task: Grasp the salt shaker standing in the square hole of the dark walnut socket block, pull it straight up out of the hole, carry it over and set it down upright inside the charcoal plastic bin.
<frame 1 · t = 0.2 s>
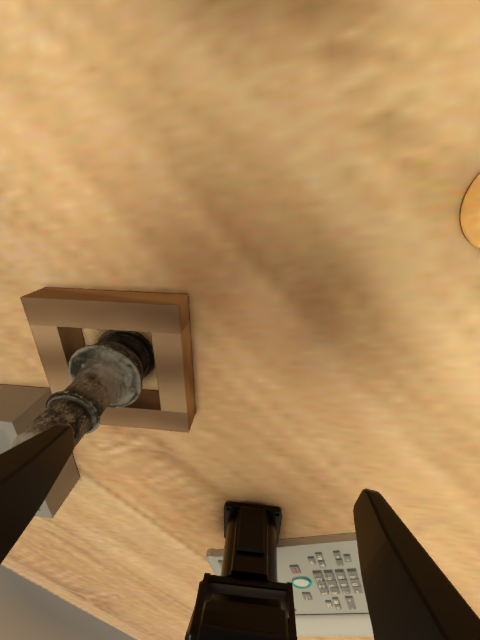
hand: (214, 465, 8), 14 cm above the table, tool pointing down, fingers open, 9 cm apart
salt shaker: (127, 353, 25), resting in socket block
socket block: (126, 354, 25), on the table
bin: (11, 431, 30), on the table
grey cutout plate: (298, 581, 38), on the table
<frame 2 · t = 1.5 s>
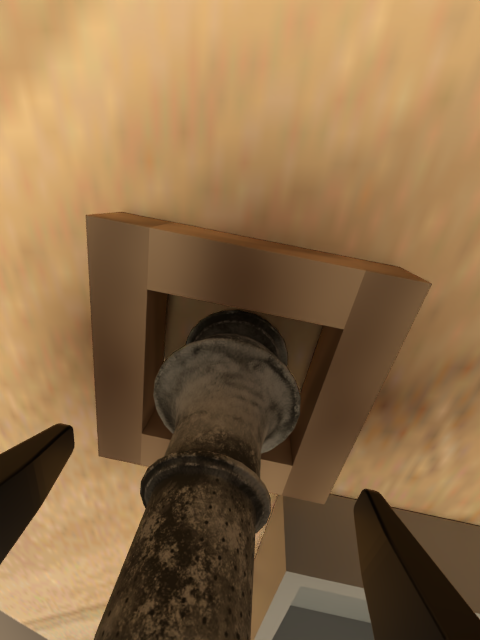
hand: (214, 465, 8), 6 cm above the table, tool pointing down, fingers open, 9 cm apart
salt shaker: (236, 355, 14), resting in socket block
socket block: (235, 358, 14), on the table
bin: (348, 560, 20), on the table
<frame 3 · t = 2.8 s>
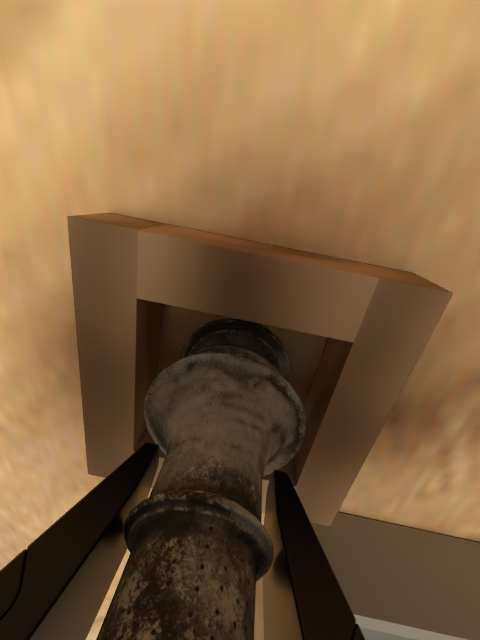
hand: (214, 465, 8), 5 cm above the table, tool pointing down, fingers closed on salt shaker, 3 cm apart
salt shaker: (235, 366, 13), resting in socket block, touching gripper
socket block: (234, 369, 13), on the table
bin: (353, 578, 19), on the table
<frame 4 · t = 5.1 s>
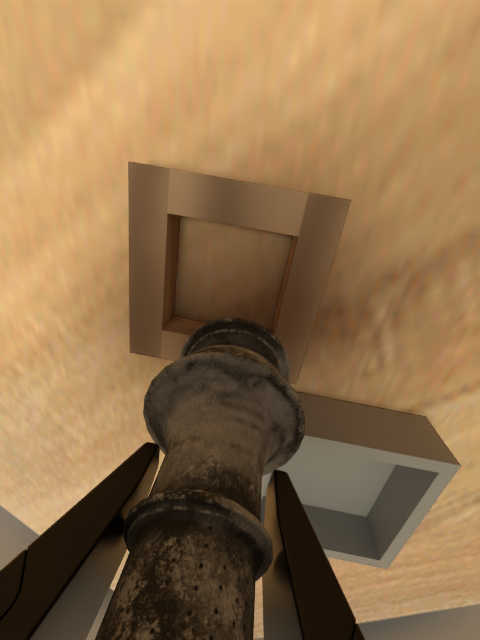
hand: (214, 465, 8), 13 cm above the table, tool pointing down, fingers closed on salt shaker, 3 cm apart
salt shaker: (234, 366, 13), point 7 cm above the table, touching gripper
socket block: (229, 277, 19), on the table
bin: (323, 456, 25), on the table
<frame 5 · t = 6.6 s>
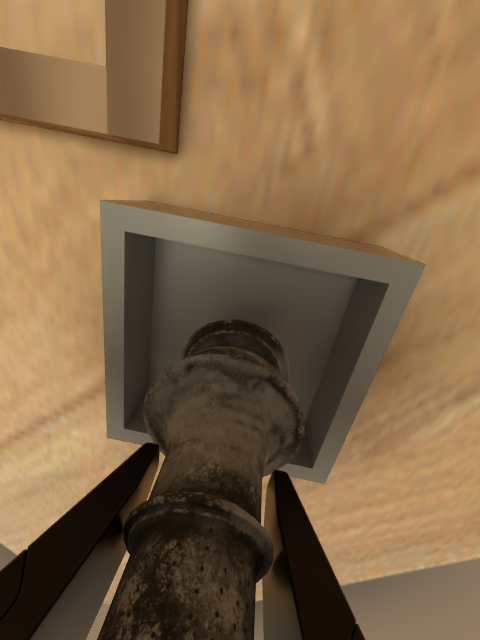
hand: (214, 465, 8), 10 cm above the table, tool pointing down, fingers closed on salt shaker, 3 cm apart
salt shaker: (234, 367, 13), point 5 cm above the table, touching gripper
bin: (241, 329, 17), on the table
when the fingers open (7 cm above the table, at t = 7.7 s): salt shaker stays where it is, resting on bin.
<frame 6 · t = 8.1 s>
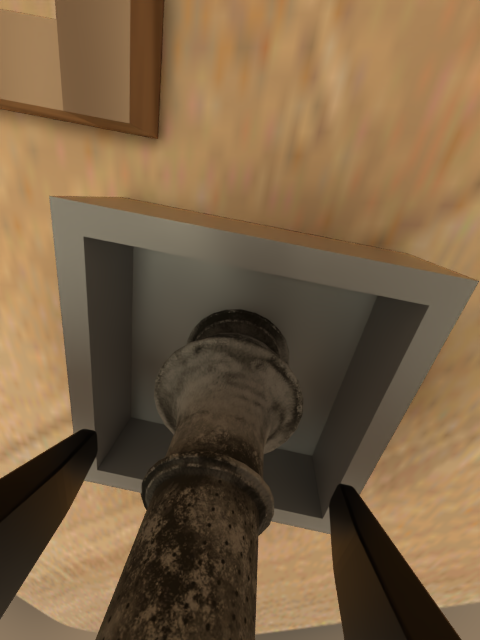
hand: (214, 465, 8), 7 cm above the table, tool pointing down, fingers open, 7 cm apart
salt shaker: (237, 355, 14), point 1 cm above the table, touching bin
bin: (238, 349, 15), on the table
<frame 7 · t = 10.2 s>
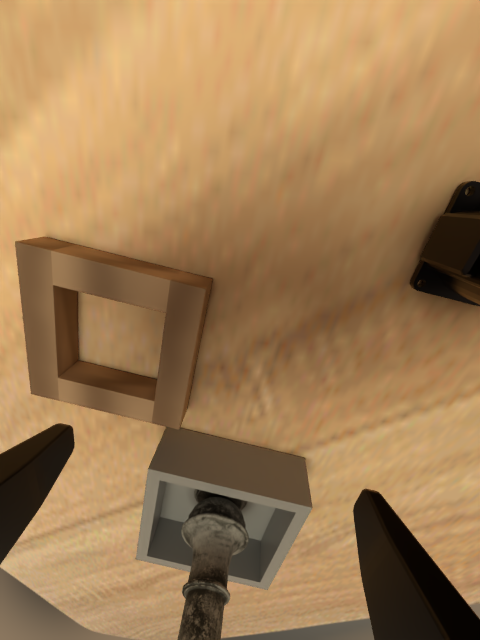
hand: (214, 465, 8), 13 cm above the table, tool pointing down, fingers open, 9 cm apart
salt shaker: (221, 493, 27), point 1 cm above the table, touching bin
socket block: (124, 332, 22), on the table
bin: (222, 486, 28), on the table
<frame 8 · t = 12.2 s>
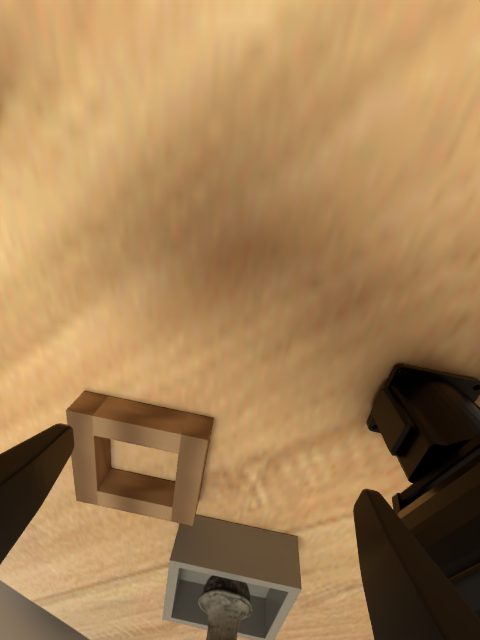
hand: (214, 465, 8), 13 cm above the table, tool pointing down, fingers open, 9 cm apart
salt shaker: (229, 563, 33), point 1 cm above the table, touching bin
socket block: (146, 450, 27), on the table
bin: (230, 555, 33), on the table
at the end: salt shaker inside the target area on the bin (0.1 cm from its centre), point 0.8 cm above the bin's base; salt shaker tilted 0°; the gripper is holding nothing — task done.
